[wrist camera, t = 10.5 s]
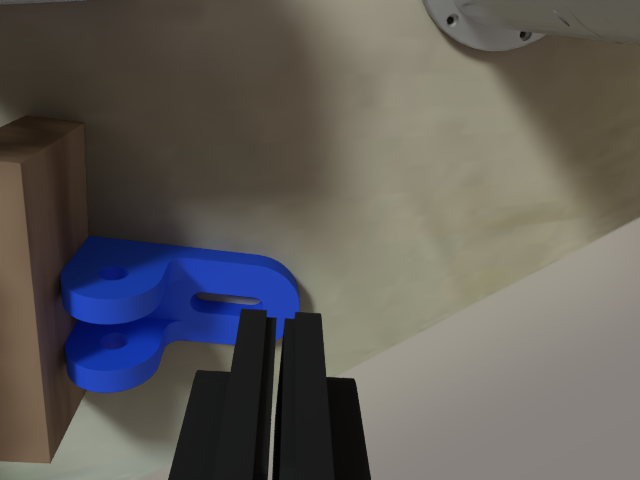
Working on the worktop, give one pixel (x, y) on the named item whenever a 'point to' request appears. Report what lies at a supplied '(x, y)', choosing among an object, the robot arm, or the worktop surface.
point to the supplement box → (32, 1)
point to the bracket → (158, 304)
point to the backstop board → (38, 281)
